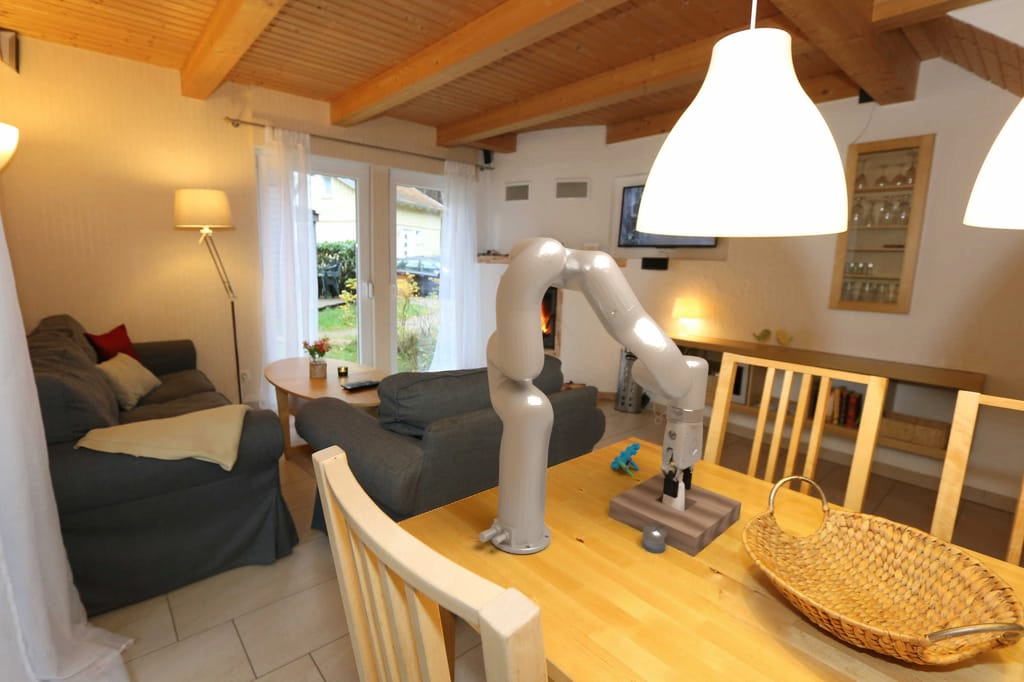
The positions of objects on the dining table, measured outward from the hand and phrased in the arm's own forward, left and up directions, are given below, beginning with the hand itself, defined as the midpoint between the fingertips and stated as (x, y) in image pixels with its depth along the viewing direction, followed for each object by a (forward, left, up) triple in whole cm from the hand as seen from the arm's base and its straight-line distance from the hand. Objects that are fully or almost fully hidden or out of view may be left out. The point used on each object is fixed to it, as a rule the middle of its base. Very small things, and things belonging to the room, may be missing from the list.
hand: (676, 490), depth 111 cm
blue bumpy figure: (+13, +22, -7) cm, 27 cm away
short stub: (-14, -3, -7) cm, 16 cm away
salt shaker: (0, 0, -7) cm, 7 cm away
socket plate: (0, 0, -6) cm, 6 cm away
